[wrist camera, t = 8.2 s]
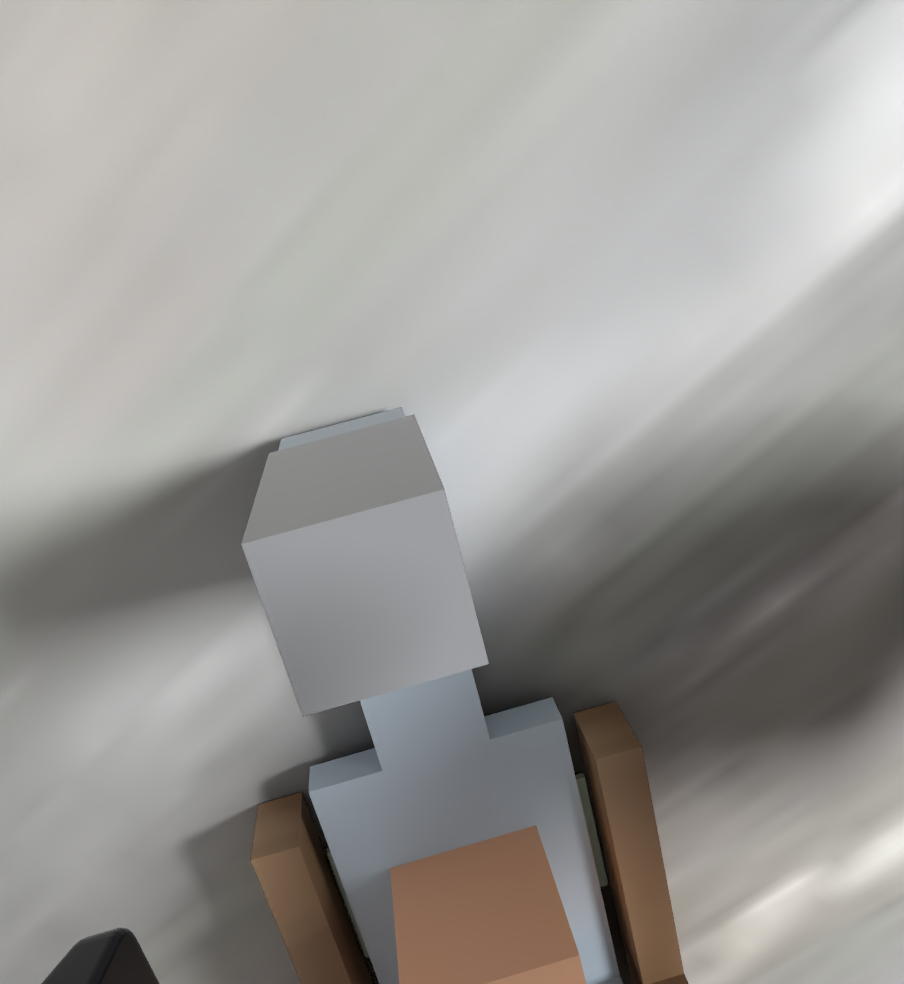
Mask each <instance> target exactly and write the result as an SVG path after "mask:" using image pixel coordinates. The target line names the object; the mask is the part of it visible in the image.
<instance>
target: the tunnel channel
mask: <svg viewBox="0 0 904 984" xmlns="http://www.w3.org/2000/svg"><path fill="white" fill-rule="evenodd" d="M574 718H575V723H576V727H577V732H578V737H579V741H580V746H581V750H582V755H583V760H584V764H585V769H586V773H587V778H588V783H589V787H590V792H591V796H592V801H593V806H594V810H595V815H596V819H597V824H598V829H599V833H600V838H601V842H602V847H603V852H604V856H605V861H606V865H607V870H608V875H609V879H610V884H611V888H612V893H613V898H614V902H615V907H616V911H617V916H618V921H619V925H620V930H621V934H622V939H623V944H624V948H625V953H626V957H627V962H628V967H629V971H630V976H631V980H632V984H688V981H687V979H686V977H685V975H684V972H683V966H682V961H681V955H680V950H679V945H678V939H677V934H676V928H675V923H674V918H673V912H672V907H671V901H670V896H669V891H668V885H667V880H666V874H665V869H664V864H663V858H662V853H661V847H660V842H659V837H658V831H657V826H656V820H655V815H654V810H653V804H652V799H651V793H650V788H649V783H648V777H647V772H646V766H645V761H644V756H643V750H642V746H641V744H640V742H639V741H638V739H637V737H636V736H635V734H634V732H633V731H632V729H631V727H630V725H629V724H628V722H627V720H626V719H625V717H624V715H623V713H622V712H621V710H620V708H619V707H618V705H617V703H616V702H612V703H608V704H605V705H601V706H598V707H594V708H591V709H587V710H584V711H581V712H577V713H574ZM575 777H576V782H577V786H578V791H579V795H580V800H581V804H582V808H583V813H584V817H585V822H586V826H587V831H588V835H589V840H590V844H591V849H592V853H593V858H594V862H595V867H596V871H597V875H598V880H599V884H600V887H602V886H606V885H608V881H607V877H606V872H605V867H604V863H603V858H602V854H601V849H600V845H599V840H598V835H597V831H596V826H595V822H594V817H593V813H592V808H591V803H590V799H589V794H588V790H587V785H586V781H585V777H584V775H583V773H581V774H577V775H575ZM327 856H328V858H329V861H330V864H331V866H332V869H333V872H334V874H335V877H336V880H337V882H338V885H339V888H340V890H341V893H342V896H343V899H344V901H345V904H346V907H347V909H348V912H349V915H350V917H351V920H352V923H353V925H354V928H355V931H356V934H357V936H358V939H359V942H360V944H361V947H362V950H363V952H364V955H365V958H366V957H369V955H368V952H367V949H366V946H365V944H364V941H363V938H362V936H361V933H360V930H359V927H358V925H357V922H356V919H355V917H354V914H353V911H352V909H351V906H350V903H349V900H348V898H347V895H346V892H345V890H344V887H343V884H342V881H341V879H340V876H339V873H338V871H337V868H336V865H335V863H334V860H333V857H332V854H331V852H330V849H329V847H328V848H327ZM250 861H251V863H252V866H253V868H254V870H255V873H256V875H257V878H258V880H259V883H260V885H261V887H262V890H263V892H264V895H265V897H266V899H267V902H268V904H269V907H270V909H271V911H272V914H273V916H274V919H275V921H276V923H277V926H278V928H279V931H280V933H281V935H282V938H283V940H284V943H285V945H286V947H287V950H288V952H289V955H290V957H291V959H292V962H293V964H294V967H295V969H296V971H297V974H298V976H299V979H300V981H301V983H302V984H373V981H372V978H371V976H370V973H369V970H368V968H367V965H366V962H365V960H364V957H363V954H362V952H361V949H360V946H359V944H358V941H357V938H356V935H355V933H354V930H353V927H352V925H351V922H350V919H349V917H348V914H347V911H346V909H345V906H344V903H343V901H342V898H341V895H340V893H339V890H338V887H337V885H336V882H335V879H334V876H333V874H332V871H331V868H330V866H329V863H328V860H327V858H326V855H325V852H324V850H323V847H322V844H321V842H320V839H319V836H318V834H317V831H316V828H315V826H314V823H313V820H312V817H311V815H310V812H309V809H308V807H307V804H306V801H305V799H304V796H303V793H302V792H300V793H296V794H293V795H289V796H286V797H282V798H279V799H276V800H272V801H269V802H265V803H262V804H258V809H257V817H256V824H255V831H254V838H253V845H252V853H251V860H250Z"/></svg>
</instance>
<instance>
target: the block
mask: <svg viewBox="0 0 904 984" xmlns="http://www.w3.org/2000/svg"><path fill="white" fill-rule="evenodd" d="M390 874H391V886H392V899H393V911H394V923H395V936H396V948H397V960H398V972H399V984H586V980H585V976H584V972H583V968H582V964H581V960H580V955H579V952H578V949H577V946H576V943H575V940H574V937H573V934H572V931H571V928H570V925H569V922H568V919H567V916H566V913H565V910H564V907H563V904H562V901H561V898H560V895H559V892H558V889H557V886H556V883H555V880H554V877H553V874H552V871H551V868H550V865H549V862H548V859H547V856H546V853H545V850H544V847H543V844H542V841H541V838H540V835H539V832H538V829H537V826H536V825H535V826H531V827H528V828H525V829H521V830H518V831H514V832H511V833H508V834H504V835H501V836H497V837H494V838H491V839H487V840H484V841H481V842H477V843H474V844H470V845H467V846H464V847H460V848H457V849H453V850H450V851H447V852H443V853H440V854H437V855H433V856H430V857H426V858H423V859H420V860H416V861H413V862H409V863H406V864H403V865H399V866H396V867H393V868H390Z"/></svg>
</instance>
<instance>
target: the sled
mask: <svg viewBox="0 0 904 984" xmlns="http://www.w3.org/2000/svg"><path fill="white" fill-rule="evenodd" d="M241 545H242V548H243V551H244V554H245V557H246V559H247V562H248V565H249V568H250V570H251V573H252V576H253V579H254V582H255V584H256V587H257V590H258V593H259V596H260V598H261V601H262V604H263V607H264V610H265V612H266V615H267V618H268V621H269V624H270V626H271V629H272V632H273V635H274V638H275V640H276V643H277V646H278V649H279V651H280V654H281V657H282V660H283V663H284V665H285V668H286V671H287V674H288V677H289V679H290V682H291V685H292V688H293V691H294V693H295V696H296V699H297V702H298V705H299V707H300V710H301V713H302V716H303V717H304V716H307V715H311V714H314V713H318V712H321V711H325V710H328V709H332V708H335V707H339V706H342V705H346V704H350V703H353V702H357V701H360V703H361V706H362V709H363V712H364V716H365V719H366V722H367V725H368V728H369V731H370V734H371V737H372V740H373V743H374V746H375V748H373V749H369V750H366V751H362V752H359V753H355V754H352V755H349V756H345V757H342V758H338V759H335V760H331V761H328V762H324V763H321V764H317V765H314V766H310V774H309V795H310V798H311V800H312V803H313V806H314V808H315V811H316V814H317V817H318V819H319V822H320V825H321V827H322V830H323V833H324V835H325V838H326V841H327V844H328V846H329V849H330V852H331V854H332V857H333V860H334V863H335V865H336V868H337V871H338V873H339V876H340V879H341V881H342V884H343V887H344V890H345V892H346V895H347V898H348V900H349V903H350V906H351V909H352V911H353V914H354V917H355V919H356V922H357V925H358V927H359V930H360V933H361V936H362V938H363V941H364V944H365V946H366V949H367V952H368V955H369V957H370V960H371V963H372V965H373V968H374V971H375V973H376V976H377V979H378V982H379V984H399V972H398V960H397V948H396V936H395V923H394V911H393V899H392V886H391V874H390V868H393V867H396V866H399V865H403V864H406V863H409V862H413V861H416V860H420V859H423V858H426V857H430V856H433V855H437V854H440V853H443V852H447V851H450V850H453V849H457V848H460V847H464V846H467V845H470V844H474V843H477V842H481V841H484V840H487V839H491V838H494V837H497V836H501V835H504V834H508V833H511V832H514V831H518V830H521V829H525V828H528V827H531V826H535V825H536V826H537V829H538V832H539V835H540V838H541V841H542V844H543V847H544V850H545V853H546V856H547V859H548V862H549V865H550V868H551V871H552V874H553V877H554V880H555V883H556V886H557V889H558V892H559V895H560V898H561V901H562V904H563V907H564V910H565V913H566V916H567V919H568V922H569V925H570V928H571V931H572V934H573V937H574V940H575V943H576V946H577V949H578V952H579V955H580V960H581V964H582V968H583V972H584V976H585V980H586V984H623V983H622V980H621V978H620V974H619V969H618V965H617V960H616V956H615V951H614V947H613V943H612V938H611V934H610V929H609V925H608V920H607V916H606V911H605V907H604V902H603V898H602V893H601V889H600V884H599V880H598V875H597V871H596V867H595V862H594V858H593V853H592V849H591V844H590V840H589V835H588V831H587V826H586V822H585V817H584V813H583V808H582V804H581V800H580V795H579V791H578V786H577V782H576V777H575V773H574V768H573V764H572V759H571V755H570V750H569V746H568V741H567V737H566V732H565V728H564V724H563V719H562V717H561V715H560V712H559V710H558V708H557V706H556V704H555V702H554V699H553V697H551V698H547V699H544V700H540V701H537V702H533V703H530V704H526V705H523V706H519V707H516V708H512V709H509V710H505V711H502V712H498V713H495V714H491V715H488V716H484V714H483V710H482V707H481V703H480V699H479V695H478V691H477V688H476V684H475V680H474V676H473V673H472V669H473V668H477V667H480V666H484V665H487V664H489V662H488V658H487V654H486V650H485V647H484V643H483V639H482V635H481V631H480V627H479V623H478V619H477V615H476V611H475V607H474V603H473V599H472V595H471V592H470V588H469V584H468V580H467V576H466V572H465V568H464V564H463V560H462V556H461V552H460V548H459V544H458V540H457V537H456V533H455V529H454V525H453V521H452V517H451V513H450V509H449V505H448V501H447V497H446V493H445V489H444V487H443V484H442V482H441V480H440V477H439V475H438V472H437V470H436V467H435V465H434V462H433V460H432V457H431V455H430V453H429V450H428V448H427V445H426V443H425V440H424V438H423V435H422V433H421V431H420V428H419V426H418V423H417V421H416V418H415V416H414V415H410V416H406V417H405V415H404V413H403V410H402V407H400V408H396V409H392V410H388V411H385V412H381V413H377V414H373V415H369V416H366V417H362V418H358V419H354V420H351V421H347V422H343V423H339V424H335V425H332V426H328V427H324V428H320V429H317V430H313V431H309V432H305V433H301V434H298V435H294V436H290V437H286V438H283V439H281V442H280V445H279V449H278V451H275V452H271V453H269V455H268V458H267V461H266V464H265V468H264V471H263V474H262V478H261V481H260V484H259V487H258V491H257V494H256V497H255V500H254V504H253V507H252V510H251V514H250V517H249V520H248V523H247V527H246V530H245V533H244V536H243V540H242V543H241Z"/></svg>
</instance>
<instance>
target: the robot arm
mask: <svg viewBox="0 0 904 984" xmlns="http://www.w3.org/2000/svg"><path fill="white" fill-rule="evenodd" d="M42 984H159V982H158V980H157V978H156V976H155V975H154V973H153V971H152V969H151V967H150V965H149V963H148V961H147V959H146V957H145V955H144V953H143V951H142V949H141V947H140V945H139V943H138V941H137V939H136V937H135V936H134V934H133V933H132V932H131V931H130V930H128V929H126V928H117V929H113V930H110V931H106V932H103V933H99V934H96V935H93V936H89V937H86V938H84V939H82V940H80V941H79V942H78V943H77V944H76V945H75V946H74V947H73V948H72V949H71V950H70V951H69V952H68V953H67V955H66V956H65V957H64V958H63V959H62V960H61V962H60V963H59V964H58V965H57V966H56V967H55V969H54V970H53V971H52V972H51V973H50V974H49V976H48V977H47V978H46V979H45V980H44V981H43V983H42Z"/></svg>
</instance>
